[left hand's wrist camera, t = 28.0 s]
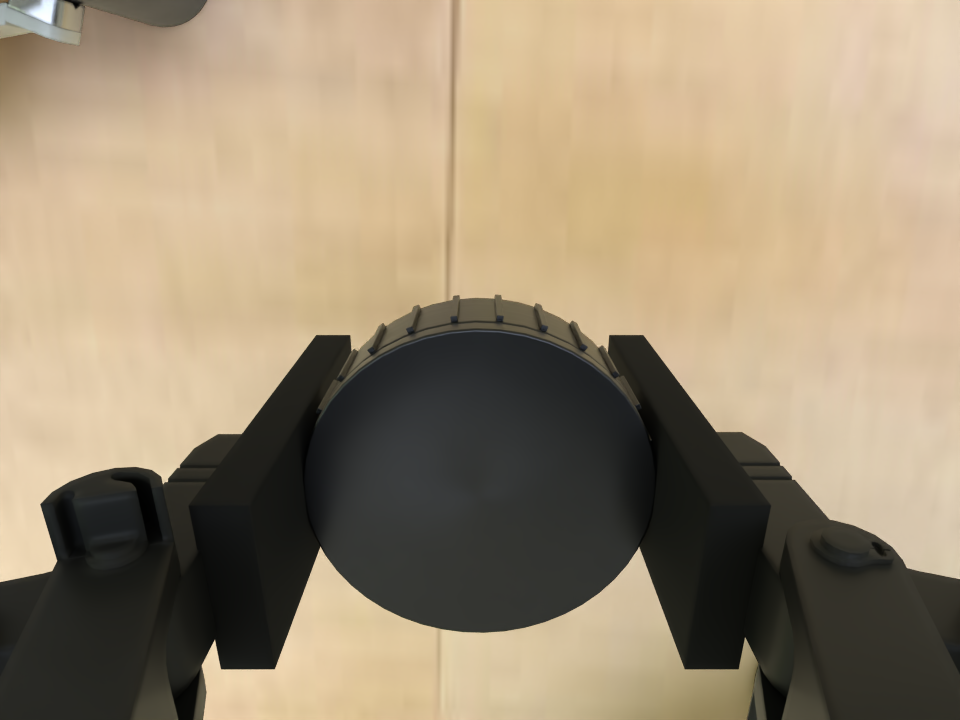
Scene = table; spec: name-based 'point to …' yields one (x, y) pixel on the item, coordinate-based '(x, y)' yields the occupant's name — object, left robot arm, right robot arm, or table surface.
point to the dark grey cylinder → (149, 10)
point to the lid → (479, 467)
